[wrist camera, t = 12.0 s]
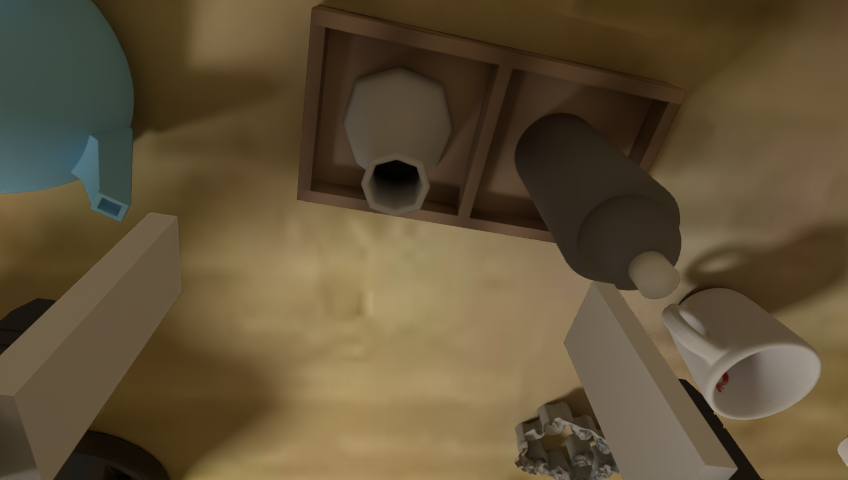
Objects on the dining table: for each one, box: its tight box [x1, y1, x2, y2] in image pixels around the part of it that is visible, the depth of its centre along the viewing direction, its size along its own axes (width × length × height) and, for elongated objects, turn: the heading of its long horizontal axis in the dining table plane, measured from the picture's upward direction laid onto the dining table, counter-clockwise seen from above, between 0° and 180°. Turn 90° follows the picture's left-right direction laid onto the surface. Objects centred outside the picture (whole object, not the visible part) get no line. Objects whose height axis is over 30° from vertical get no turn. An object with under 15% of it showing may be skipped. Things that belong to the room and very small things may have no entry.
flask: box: [342, 66, 454, 216], centre depth 26 cm, size 7×7×10 cm
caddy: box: [297, 5, 687, 243], centre depth 30 cm, size 22×12×2 cm, turn 78°
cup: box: [662, 288, 822, 420], centre depth 36 cm, size 11×8×8 cm
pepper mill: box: [514, 113, 681, 299], centre depth 25 cm, size 6×6×15 cm
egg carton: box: [515, 402, 619, 480], centre depth 46 cm, size 11×8×4 cm
